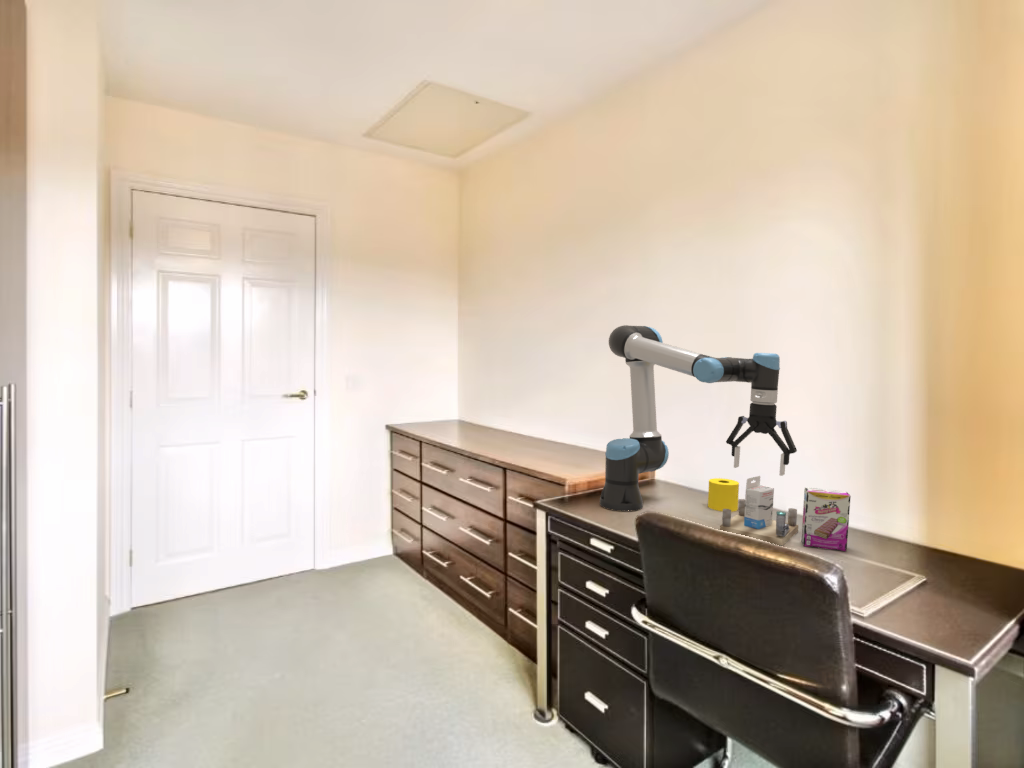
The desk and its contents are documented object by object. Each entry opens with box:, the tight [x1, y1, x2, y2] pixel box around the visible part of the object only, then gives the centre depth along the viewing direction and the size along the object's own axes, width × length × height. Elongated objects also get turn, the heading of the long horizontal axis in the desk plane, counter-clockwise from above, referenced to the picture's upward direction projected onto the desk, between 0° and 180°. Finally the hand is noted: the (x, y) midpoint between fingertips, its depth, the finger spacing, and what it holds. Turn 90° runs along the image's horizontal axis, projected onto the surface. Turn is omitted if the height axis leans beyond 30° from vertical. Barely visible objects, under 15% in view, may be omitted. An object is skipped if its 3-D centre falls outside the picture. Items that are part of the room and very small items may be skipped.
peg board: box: [719, 498, 799, 547], centre depth 173 cm, size 18×18×7 cm
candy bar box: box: [800, 487, 852, 552], centre depth 160 cm, size 11×5×16 cm, turn 71°
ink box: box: [744, 475, 775, 529], centre depth 173 cm, size 8×5×15 cm, turn 128°
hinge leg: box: [775, 510, 790, 536], centre depth 165 cm, size 10×2×7 cm, turn 143°
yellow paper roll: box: [707, 477, 740, 513], centre depth 199 cm, size 10×10×9 cm
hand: (758, 470), depth 174 cm, fingers open, 13 cm apart
